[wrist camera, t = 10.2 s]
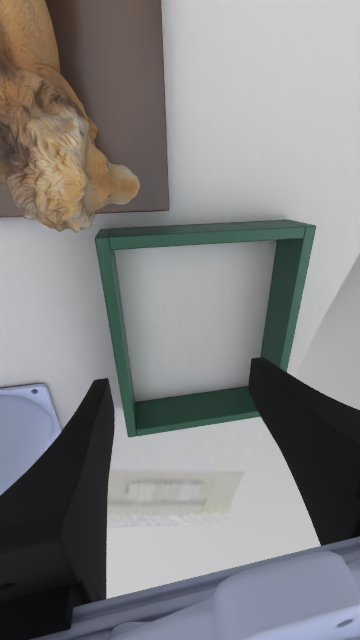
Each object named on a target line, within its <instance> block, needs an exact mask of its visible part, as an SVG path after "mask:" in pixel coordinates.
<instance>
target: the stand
mask: <svg viewBox="0 0 360 640" xmlns="http://www.w3.org/2000/svg"><path fill="white" fill-rule="evenodd" d="M45 2H46V5H47V8H48V11H49V15H50V18H51V21H52V26H53V30H54V35H55V39H56V44H57V48H58V55H59V66H60V74H61V75H62V76H63V77H64V78H65V80H66V81H67V82H68V84H69V85H70V87H71V88H72V89H73V91H74V92H75V94H76V96H77V98H78V99H79V101H80V102H81V103H82V105H83V107H84V110H85V114H86V115H87V116H88V117H89V118H90V119H91V120H92V122H93V123H94V124H95V125H96V126H97V128H98V132H97V136H96V139H95V140H94V141H95V146H96V148H97V149H98V150H100V151H101V152H102V153H103V154H104V155H105V156H106V157H107V159H108V161H109V163H112V164H117V165H123V166H125V167H127V168H128V169H130V170H131V172H132V173H133V174H134V175H136V176H137V178H138V180H139V183H140V187H139V190H138V193H137V195H136V196H135V197H134V198H132V199H131V200H130V201H129V202H128V203H126V204H124V205H119V204H107V205H105V207H103V208H102V209H100V210H96V211H95V214H97V213H121V212H145V211H168V210H169V188H168V163H167V137H166V112H165V87H164V61H163V36H162V10H161V0H45ZM1 217H24V215H23V212H22V210H21V209H20V208H18V207H17V206H16V205H15V204H14V202H13V201H12V196H11V195H10V194H8V193H7V192H6V191H5V190H4V188H3V185H2V183H0V218H1Z"/></svg>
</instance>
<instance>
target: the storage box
mask: <svg viewBox="0 0 360 640" xmlns="http://www.w3.org/2000/svg"><path fill="white" fill-rule="evenodd" d="M315 229H316V226H315V225H310V224H306V223H301V222H297V221H292V220H274V221H254V222H234V223H214V224H194V225H174V226H154V227H134V228H114V229H112V230H111V229H100V231H99V232H98V234H97V236H96V237H95V243H96V249H97V255H98V261H99V267H100V273H101V279H102V285H103V291H104V297H105V303H106V309H107V315H108V321H109V327H110V333H111V339H112V345H113V351H114V356H115V362H116V368H117V374H118V380H119V386H120V392H121V398H122V404H123V410H124V416H125V422H126V428H127V434H128V437H135V436H142V435H148V434H154V433H161V432H167V431H173V430H179V429H186V428H192V427H198V426H204V425H210V424H217V423H223V422H229V421H235V420H242V419H248V418H254V417H260V414H259V412H258V411H257V409H256V407H255V405H254V403H253V400H252V398H251V395H250V393H249V390H248V387H241V388H234V389H227V390H220V391H213V392H206V393H199V394H192V395H185V396H178V397H171V398H164V399H157V400H150V401H143V402H136V403H135V398H134V391H133V383H132V376H131V369H130V362H129V354H128V347H127V340H126V332H125V325H124V318H123V311H122V303H121V296H120V289H119V281H118V274H117V267H116V260H115V252H114V250H119V249H135V248H151V247H168V246H184V245H201V244H217V243H233V242H250V241H266V240H277V247H276V254H275V261H274V268H273V275H272V282H271V289H270V296H269V303H268V310H267V317H266V324H265V331H264V338H263V345H262V352H261V357H263V358H265V359H267V360H268V361H270V362H271V363H273V364H274V365H276V366H278V367H279V368H281V369H282V370H284V371H285V372H287V367H288V362H289V357H290V353H291V348H292V343H293V338H294V333H295V328H296V323H297V318H298V313H299V308H300V303H301V298H302V293H303V289H304V284H305V279H306V274H307V269H308V264H309V259H310V254H311V249H312V244H313V239H314V234H315Z"/></svg>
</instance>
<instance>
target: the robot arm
mask: <svg viewBox="0 0 360 640" xmlns="http://www.w3.org/2000/svg"><path fill="white" fill-rule="evenodd" d="M33 389H36V390H37V391H35V390H33ZM248 390H249V393H250V395H251V398H252V400H253V403H254V405H255V407H256V409H257V411H258V412H259V414H260V416H261V417H262V419H263V421H264V423H265V424H266V426H267V428H268V429H269V431H270V433H271V434H272V436H273V438H274V439H275V441H276V443H277V445H278V446H279V448H280V450H281V452H282V454H283V456H284V458H285V460H286V462H287V464H288V467H289V469H290V471H291V473H292V475H293V477H294V480H295V482H296V484H297V487H298V489H299V491H300V493H301V496H302V498H303V500H304V503H305V506H306V508H307V510H308V513H309V515H310V518H311V520H312V523H313V526H314V528H315V531H316V534H317V536H318V539H319V541H320V544H321V546H320V547H315V548H311V549H307V550H303V551H299V552H295V553H291V554H287V555H283V556H279V557H275V558H271V559H267V560H263V561H259V562H255V563H251V564H247V565H243V566H239V567H235V568H230V569H227V570H222V571H218V572H214V573H210V574H207V575H203V576H198V577H194V578H191V579H186V580H182V581H178V582H174V583H170V584H166V585H162V586H158V587H154V588H150V589H146V590H142V591H138V592H134V593H129V594H126V595H121V596H117V597H113V598H109V599H106V538H107V495H108V478H109V470H110V462H111V454H112V445H113V437H114V405H113V400H112V395H111V390H110V385H109V380H108V378H105V379H97V380H94V382H93V383H92V385H91V387H90V389H89V390H88V392H87V394H86V396H85V397H84V399H83V401H82V402H81V404H80V405H79V407H78V409H77V410H76V412H75V413H74V415H73V416H72V418H71V419H70V421H69V422H68V423H67V425H66V426H65V427H64V429H63V430H61V427H60V424H59V421H58V418H57V415H56V412H55V409H54V406H53V403H52V400H51V397H50V394H49V391H48V388H47V386H46V385H45V384H34V385H27V386H19V387H11V388H3V389H0V640H360V410H358V409H355V408H353V407H350V406H347V405H345V404H343V403H341V402H339V401H337V400H335V399H332V398H330V397H328V396H326V395H324V394H322V393H320V392H319V391H317V390H315V389H313V388H311V387H310V386H308V385H306V384H304V383H303V382H301V381H299V380H298V379H296V378H295V377H293V376H291V375H290V374H288V373H287V372H285V371H284V370H282V369H281V368H279V367H278V366H276V365H274V364H273V363H271V362H270V361H268V360H267V359H265V358H263V357H261V358H253V359H251V368H250V377H249V386H248ZM46 449H47V450H46ZM45 450H46V451H45Z"/></svg>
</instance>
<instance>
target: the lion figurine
mask: <svg viewBox="0 0 360 640" xmlns="http://www.w3.org/2000/svg"><path fill="white" fill-rule="evenodd" d="M97 132H98V128H97V126H96V125H95V124H94V123H93V122H92V120H91V119H90V118H89V117H88V116H87V115H86V114H85V110H84V107H83V105H82V103H81V102H80V101H79V99H78V98H77V96H76V94H75V92H74V91H73V89H72V88H71V87H70V85H69V84H68V82H67V81H66V80H65V78H64V77H63V76H62V75H61V74H60V66H59V55H58V48H57V44H56V39H55V35H54V30H53V26H52V21H51V18H50V15H49V11H48V8H47V5H46V2H45V0H0V183H2V185H3V188H4V190H5V191H6V192H7V193H8V194H10V195H11V196H12V201H13V202H14V204H15V205H16V206H17V207H18V208H20V209H21V210H22V212H23V215H24V217H25V218H27V219H29V220H33V219H37V220H38V221H39V222H41V223H42V224H44V225H47V226H48V227H49V228H55V229H56V230H58V231H59V232H61V231H63V230H64V229H67V228H70V229H71V230H73V231H74V232H79V229H80V230H85V229H87V228H91V227H92V224H91V222H92V220H93V218H94V214H95V211H96V210H100V209H102V208H103V207H105V205H107V204H119V205H124V204H126V203H128V202H129V201H130V200H131V199H132V198H134V197H135V196H136V195H137V193H138V190H139V187H140V183H139V180H138V178H137V176H136V175H134V174H133V173H132V172H131V170H130V169H128V168H127V167H125V166H123V165H117V164H112V163H109V161H108V159H107V157H106V156H105V155H104V154H103V153H102V152H101V151H100V150H98V149H97V148H96V146H95V141H94V140H95V139H96V136H97Z"/></svg>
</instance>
